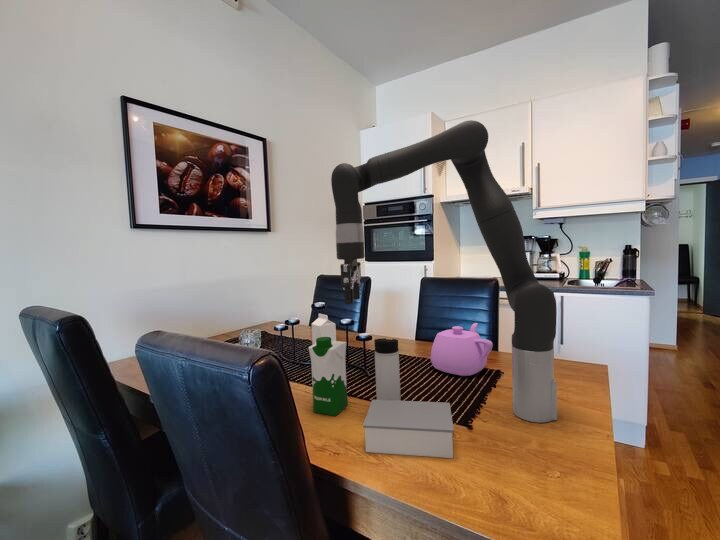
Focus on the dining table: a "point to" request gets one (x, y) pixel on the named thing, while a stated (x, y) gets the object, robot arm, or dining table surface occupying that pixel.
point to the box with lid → (409, 428)
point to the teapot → (460, 351)
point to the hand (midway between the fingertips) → (352, 301)
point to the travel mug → (387, 369)
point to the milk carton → (328, 376)
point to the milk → (323, 328)
